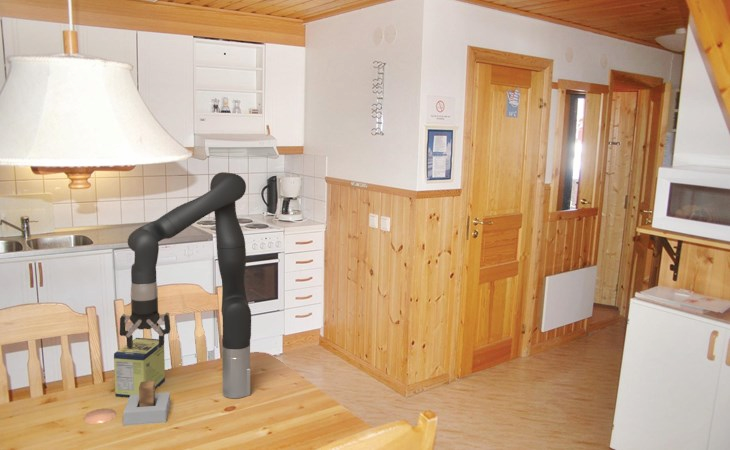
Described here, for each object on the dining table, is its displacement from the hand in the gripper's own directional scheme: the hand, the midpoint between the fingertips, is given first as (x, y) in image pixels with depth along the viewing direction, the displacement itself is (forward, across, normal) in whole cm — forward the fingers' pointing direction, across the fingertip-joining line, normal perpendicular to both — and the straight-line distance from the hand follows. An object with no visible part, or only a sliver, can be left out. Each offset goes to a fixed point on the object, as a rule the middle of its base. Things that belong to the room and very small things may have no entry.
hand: (145, 347), depth 173 cm
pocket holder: (+22, 0, 0) cm, 22 cm away
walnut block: (+22, 0, 0) cm, 22 cm away
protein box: (+23, +5, -20) cm, 31 cm away
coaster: (+22, +14, -1) cm, 26 cm away
